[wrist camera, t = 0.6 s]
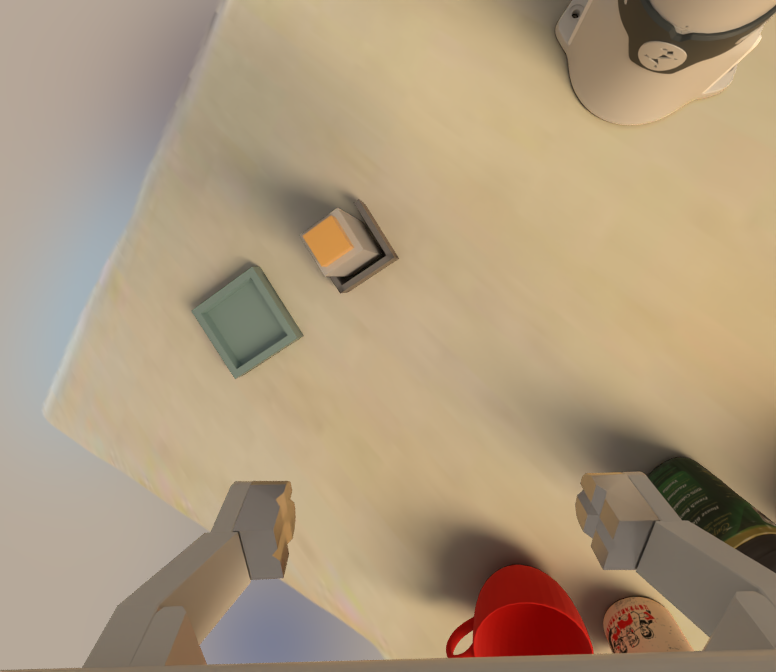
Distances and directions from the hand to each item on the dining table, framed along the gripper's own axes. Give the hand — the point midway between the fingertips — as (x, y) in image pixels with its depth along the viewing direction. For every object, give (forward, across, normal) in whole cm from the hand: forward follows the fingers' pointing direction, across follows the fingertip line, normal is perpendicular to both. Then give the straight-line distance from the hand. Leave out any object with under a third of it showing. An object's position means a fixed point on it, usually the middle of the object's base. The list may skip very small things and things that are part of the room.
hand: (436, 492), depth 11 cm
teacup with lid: (+22, -30, +50) cm, 62 cm away
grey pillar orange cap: (+43, +5, +4) cm, 44 cm away
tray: (+43, +20, +13) cm, 49 cm away
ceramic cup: (+26, -14, +47) cm, 55 cm away
